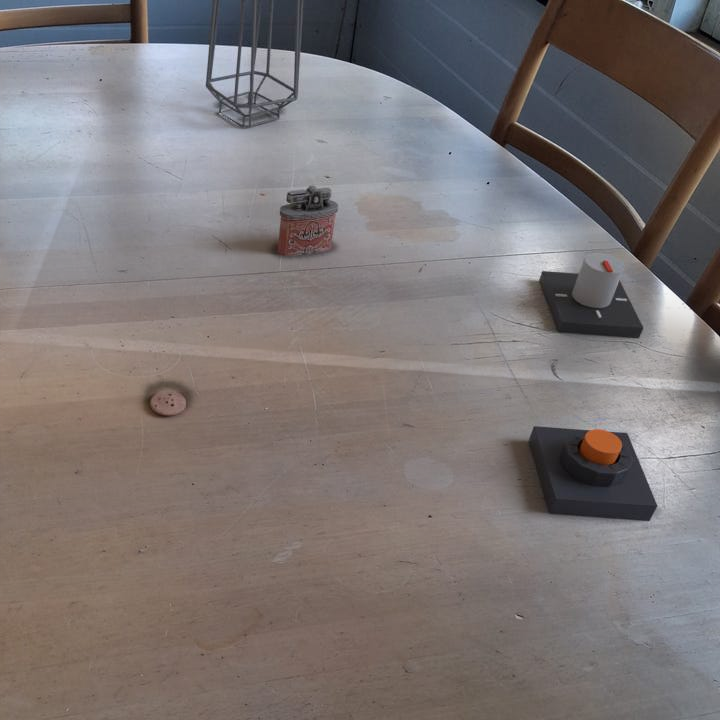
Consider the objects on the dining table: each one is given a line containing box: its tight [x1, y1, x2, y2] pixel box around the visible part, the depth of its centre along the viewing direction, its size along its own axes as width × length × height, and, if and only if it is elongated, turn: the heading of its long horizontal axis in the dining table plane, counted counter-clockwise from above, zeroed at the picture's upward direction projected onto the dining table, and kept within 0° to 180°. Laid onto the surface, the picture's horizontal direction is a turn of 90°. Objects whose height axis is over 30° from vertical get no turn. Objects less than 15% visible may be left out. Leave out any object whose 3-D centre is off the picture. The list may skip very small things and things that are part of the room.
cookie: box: [149, 390, 187, 417], centre depth 98 cm, size 4×4×1 cm
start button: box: [580, 428, 622, 465], centre depth 90 cm, size 4×4×2 cm
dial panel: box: [538, 270, 644, 339], centre depth 115 cm, size 10×12×3 cm
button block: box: [528, 425, 658, 522], centre depth 92 cm, size 10×11×4 cm
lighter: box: [277, 185, 339, 257], centre depth 119 cm, size 8×3×10 cm, turn 111°
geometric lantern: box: [205, 0, 304, 128], centre depth 145 cm, size 16×16×35 cm
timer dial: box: [572, 252, 625, 308], centre depth 112 cm, size 5×5×5 cm
